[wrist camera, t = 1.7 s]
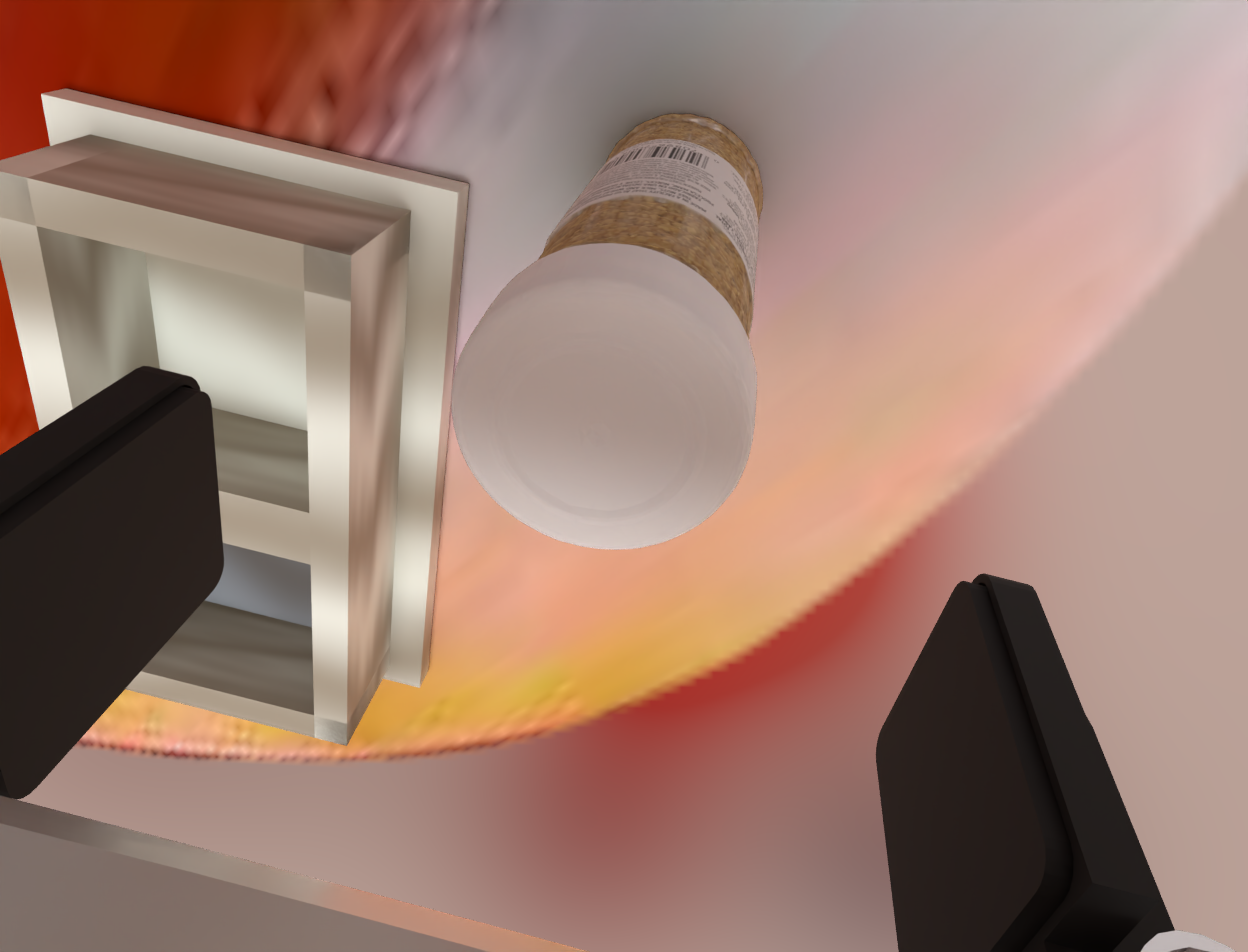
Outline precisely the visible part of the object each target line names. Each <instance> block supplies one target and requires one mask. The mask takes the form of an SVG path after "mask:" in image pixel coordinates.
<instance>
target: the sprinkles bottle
mask: <svg viewBox="0 0 1248 952" xmlns="http://www.w3.org/2000/svg"><path fill="white" fill-rule="evenodd" d="M762 204H763V187H762V183H761V179H760V173H759V170H758V166H757V163H756V162H755V160H754V159H753V157H752V156H751V154H750V152H749V150H748V149H747V147H746V146H745V145H744V143H743V142H742V141H741V140H740V139H739V138H738V137H737V136H736V135H735V134H734V133H733V132H731V131H730V130H728V129H727V128H726V127H724V126H723V125H722V124H720V123H718V122H716V121H714V120H712V119H710V118H706V117H699V116H696V115H693V114H682V115H680V114H667V115H662V116H659V117H657V118H654V119H651V120H648V121H646V122H644V123H642V124H640V125H638V126H637V127H635V128H634V129H633V130H632V131H631V132H630V133H629V134H628V135H627V136H625V137H624V138H623V139H621V140H620V141H619V142H618V143H617V144H616V146H615V147H614V149H613V150H612V152H611V154H610V155H609V157H608V159H607V161H606V163H605V165H604V166H603V167H602V168H601V169H600V170H599V171H598V172H597V174H596V175H595V176H594V178H593V179H592V180H591V181H590V183H589V184H588V186H587V187H586V188H585V189H584V191H583V192H582V193H581V195H580V196H579V197H578V198H577V200H576V201H575V202H574V204H573V205H572V206H571V208H570V209H569V210H568V212H567V213H566V214H565V216H564V217H563V218H562V220H561V221H560V222H559V224H558V225H557V227H556V228H555V229H554V231H553V232H552V234H551V235H550V236H549V238H548V239H547V242H546V246H545V249H544V251H543V254H542V255H541V256H540V257H539V259H538V260H537V261H535V262H534V263H533V264H531V265H530V266H529V267H527V268H526V269H525V270H523V271H522V272H520V273H519V274H518V275H517V276H516V277H515V278H513V279H512V280H511V281H510V282H509V283H508V284H507V286H506V287H505V288H504V289H503V290H502V291H501V292H500V294H499V295H498V296H497V298H496V299H495V300H494V302H493V303H492V304H491V306H490V307H489V308H488V310H487V311H486V313H485V314H484V316H483V317H482V319H481V320H480V322H479V323H478V325H477V326H476V328H475V330H474V331H473V333H472V334H471V336H470V337H469V339H468V341H467V343H466V345H465V347H464V349H463V351H462V353H461V355H460V357H459V360H458V363H457V366H456V369H455V373H454V379H453V386H452V393H451V406H452V417H453V425H454V429H455V433H456V437H457V440H458V444H459V447H460V450H461V452H462V454H463V456H464V458H465V461H466V463H467V465H468V466H469V468H470V470H471V471H472V473H473V475H474V476H475V478H476V479H477V480H478V482H479V483H480V484H481V486H482V487H483V488H484V489H485V491H486V492H487V493H488V494H489V495H490V496H491V497H492V498H493V499H494V500H495V501H496V502H497V503H498V504H499V505H500V506H501V507H502V508H504V509H505V510H506V511H507V512H508V513H510V514H511V515H512V516H514V517H515V518H516V519H518V520H519V521H521V522H522V523H524V524H526V525H527V526H529V527H531V528H533V529H535V530H537V531H539V532H540V533H542V534H544V535H546V536H549V537H551V538H554V539H556V540H559V541H563V542H566V543H570V544H574V545H578V546H582V547H589V548H597V549H613V550H619V549H635V548H642V547H646V546H651V545H656V544H659V543H662V542H665V541H668V540H671V539H673V538H675V537H678V536H680V535H682V534H684V533H686V532H688V531H690V530H691V529H693V528H695V527H696V526H698V525H699V524H701V523H702V522H703V521H705V520H706V519H707V518H709V517H710V516H711V515H712V514H713V513H714V512H715V511H716V510H717V509H718V508H719V507H720V506H721V505H722V504H723V503H724V501H725V500H726V499H727V498H728V497H729V495H730V494H731V493H732V492H733V490H734V489H735V487H736V486H737V484H738V482H739V480H740V478H741V475H742V473H743V471H744V468H745V466H746V463H747V461H748V457H749V453H750V449H751V445H752V441H753V433H754V425H755V412H756V394H757V372H756V366H755V361H754V357H753V353H752V349H751V345H750V342H749V334H750V331H751V326H752V320H753V307H754V289H755V275H756V263H757V250H758V235H759V229H758V223H759V217H760V213H761V210H762Z"/></svg>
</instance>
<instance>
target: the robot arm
mask: <svg viewBox="0 0 1248 952" xmlns="http://www.w3.org/2000/svg"><path fill="white" fill-rule="evenodd" d="M223 568H224V552H223V539H222V527H221V514H220V502H219V489H218V477H217V465H216V452H215V440H214V427H213V415H212V404H211V399H210V397H209V395H208V394H207V393H205V392H203V391H201V390H200V386H199V384H198V383H197V381H196V380H195V379H194V378H192V377H191V376H187V375H183V374H179V373H175V372H171V371H167V370H163V369H159V368H155V367H151V366H141V367H139V368H137V369H135V370H133V371H132V372H130V373H129V374H127V375H125V376H124V377H122V378H121V379H119V380H118V381H116V382H114V383H113V384H111V385H110V386H108V387H107V388H105V389H103V390H102V391H100V392H99V393H97V394H96V395H94V396H92V397H91V398H89V399H88V400H86V401H85V402H83V403H81V404H80V405H78V406H77V407H75V408H74V409H72V410H70V411H69V412H67V413H66V414H64V415H63V416H61V417H59V418H58V419H56V420H55V421H53V422H52V423H50V424H49V425H47V426H45V427H44V428H42V429H41V430H39V431H38V432H36V433H34V434H33V435H31V436H30V437H28V438H27V439H25V440H23V441H22V442H20V443H19V444H17V445H16V446H14V447H12V448H11V449H9V450H8V451H6V452H5V453H3V454H1V455H0V952H588V951H585V950H581V949H577V948H574V947H570V946H566V945H563V944H559V943H555V942H552V941H548V940H544V939H541V938H537V937H533V936H529V935H526V934H522V933H518V932H515V931H511V930H507V929H503V928H500V927H495V926H492V925H488V924H485V923H481V922H477V921H474V920H470V919H466V918H462V917H459V916H455V915H451V914H447V913H444V912H440V911H436V910H432V909H429V908H425V907H421V906H417V905H414V904H410V903H406V902H402V901H399V900H395V899H391V898H387V897H384V896H380V895H376V894H372V893H369V892H365V891H361V890H358V889H354V888H350V887H346V886H343V885H339V884H335V883H331V882H327V881H324V880H320V879H316V878H312V877H308V876H305V875H301V874H297V873H293V872H290V871H286V870H282V869H278V868H275V867H271V866H267V865H263V864H260V863H256V862H252V861H249V860H245V859H241V858H237V857H233V856H230V855H225V854H222V853H218V852H214V851H210V850H207V849H203V848H199V847H195V846H191V845H187V844H184V843H179V842H176V841H172V840H168V839H164V838H161V837H157V836H153V835H149V834H145V833H141V832H138V831H134V830H130V829H126V828H122V827H119V826H115V825H111V824H107V823H103V822H99V821H96V820H92V819H87V818H84V817H80V816H76V815H72V814H69V813H65V812H61V811H57V810H53V809H50V808H46V807H42V806H38V805H34V804H30V803H27V802H22V801H19V800H17V799H21V798H24V797H25V796H27V795H29V794H30V793H31V792H32V791H33V790H34V789H35V788H36V787H37V786H38V785H39V784H40V783H41V782H42V781H43V780H44V779H45V778H46V776H47V775H48V774H49V773H50V772H51V771H52V770H53V768H55V766H56V765H57V764H58V763H59V762H60V761H61V760H62V759H63V757H64V756H65V755H66V754H67V753H68V752H69V751H70V750H71V749H72V747H73V746H74V745H75V744H76V743H77V742H78V741H79V740H80V739H81V737H82V736H83V735H84V734H85V733H86V732H87V731H88V730H89V728H90V727H91V726H92V725H93V724H94V723H95V722H96V721H97V720H98V718H99V717H100V716H101V715H102V714H103V713H104V712H105V711H106V710H107V708H108V707H109V706H110V705H111V704H112V703H113V702H114V701H115V700H116V698H117V697H118V696H119V695H120V694H121V693H122V692H123V691H124V689H125V688H126V687H127V686H128V685H129V684H130V683H131V682H132V681H133V679H134V678H135V677H136V676H137V675H138V674H139V673H140V672H141V671H142V669H143V668H144V667H145V666H146V665H147V664H148V663H149V662H150V661H151V659H152V658H153V657H154V656H155V655H156V654H157V653H158V652H159V650H160V649H161V648H162V647H163V646H164V645H165V644H166V643H167V642H168V640H169V639H170V638H171V637H172V636H173V635H174V634H175V633H176V632H177V630H178V629H179V628H180V627H181V626H182V625H183V624H184V623H185V621H186V620H187V619H188V618H189V617H190V616H191V615H192V614H193V613H194V611H195V610H196V609H197V608H198V607H199V606H200V605H201V604H202V603H203V601H204V600H205V599H206V598H207V597H208V596H209V595H210V594H211V593H212V591H213V590H214V589H215V587H216V586H217V584H218V582H219V581H220V578H221V576H222V573H223ZM876 763H877V771H878V780H879V789H880V797H881V806H882V814H883V822H884V831H885V839H886V848H887V856H888V865H889V873H890V881H891V890H892V898H893V906H894V916H895V924H896V932H897V941H898V949H899V952H1236V951H1234V950H1233V949H1231V948H1230V947H1228V946H1226V945H1224V944H1222V943H1219V942H1217V941H1215V940H1213V939H1210V938H1208V937H1206V936H1204V935H1201V934H1196V933H1190V932H1185V931H1180V930H1175V929H1174V927H1173V924H1172V922H1171V920H1170V917H1169V915H1168V912H1167V910H1166V907H1165V905H1164V902H1163V900H1162V898H1161V895H1160V892H1159V890H1158V887H1157V885H1156V882H1155V880H1154V877H1153V875H1152V873H1151V870H1150V868H1149V865H1148V863H1147V860H1146V858H1145V855H1144V853H1143V850H1142V848H1141V845H1140V843H1139V840H1138V838H1137V835H1136V833H1135V830H1134V828H1133V826H1132V823H1131V821H1130V818H1129V816H1128V813H1127V811H1126V808H1125V806H1124V803H1123V801H1122V798H1121V796H1120V793H1119V791H1118V789H1117V786H1116V784H1115V781H1114V779H1113V776H1112V774H1111V771H1110V769H1109V767H1108V764H1107V761H1106V759H1105V757H1104V754H1103V751H1102V749H1101V747H1100V744H1099V742H1098V739H1097V737H1096V734H1095V732H1094V729H1093V727H1092V725H1091V724H1090V722H1089V720H1088V718H1087V717H1086V715H1085V713H1084V710H1083V708H1082V706H1081V703H1080V700H1079V698H1078V695H1077V693H1076V691H1075V688H1074V685H1073V683H1072V680H1071V678H1070V675H1069V673H1068V670H1067V668H1066V665H1065V663H1064V660H1063V658H1062V655H1061V653H1060V650H1059V648H1058V645H1057V643H1056V641H1055V638H1054V636H1053V633H1052V631H1051V628H1050V626H1049V623H1048V621H1047V618H1046V616H1045V613H1044V611H1043V608H1042V606H1041V603H1040V601H1039V598H1038V596H1037V593H1036V591H1035V590H1034V588H1033V587H1032V586H1030V585H1028V584H1024V583H1020V582H1016V581H1012V580H1007V579H1004V578H1000V577H996V576H992V575H988V574H980V575H978V576H977V577H976V578H975V579H974V580H973V582H972V583H970V582H966V581H962V582H960V583H959V584H957V586H956V587H955V589H954V591H953V592H952V594H951V596H950V598H949V600H948V602H947V604H946V606H945V608H944V610H943V611H942V613H941V615H940V617H939V619H938V621H937V623H936V625H935V627H934V629H933V631H932V633H931V634H930V637H929V638H928V640H927V642H926V644H925V646H924V648H923V650H922V652H921V654H920V656H919V658H918V660H917V661H916V663H915V665H914V667H913V669H912V671H911V673H910V675H909V677H908V679H907V681H906V683H905V684H904V686H903V688H902V690H901V692H900V694H899V696H898V698H897V700H896V702H895V704H894V706H893V708H892V710H891V711H890V713H889V715H888V717H887V719H886V721H885V723H884V725H883V727H882V729H881V731H880V734H879V737H878V741H877V747H876ZM15 799H16V800H15Z"/></svg>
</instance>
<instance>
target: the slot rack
mask: <svg viewBox="0 0 1248 952" xmlns="http://www.w3.org/2000/svg"><path fill="white" fill-rule="evenodd" d="M41 97H42V102H43V108H44V113H45V119H46V124H47V130H48V135H49V141H50V146H49V147H45V148H42V149H38V150H35V151H31V152H28V153H25V154H21V155H18V156H14V157H11V158H7V159H4V160H1V161H0V258H1V262H2V267H3V271H4V276H5V280H6V284H7V289H8V293H9V298H10V302H11V306H12V311H13V315H14V320H15V324H16V328H17V333H18V337H19V342H20V346H21V350H22V355H23V359H24V364H25V368H26V372H27V377H28V381H29V386H30V390H31V394H32V399H33V403H34V408H35V412H36V416H37V421H38V425H39V430H41V429H42V428H44V427H45V426H47V425H49V424H50V423H52V422H53V421H55V420H56V419H58V418H59V417H61V416H63V415H64V414H66V413H67V412H69V411H70V410H72V409H74V408H75V407H77V406H78V405H80V404H81V403H83V402H85V401H86V400H88V399H89V398H91V397H92V396H94V395H96V394H97V393H99V392H100V391H102V390H103V389H105V388H107V387H108V386H110V385H111V384H113V383H114V382H116V381H118V380H119V379H121V378H122V377H124V376H125V375H127V374H129V373H130V372H132V371H133V370H135V369H137V368H139V367H141V366H151V367H155V368H159V369H163V370H167V371H171V372H175V373H179V374H183V375H187V376H191V377H192V378H194V379H195V380H196V381H197V383H198V384H199V386H200V390H201V391H203V392H205V393H207V394H208V395H209V397H210V399H211V404H212V415H213V427H214V440H215V452H216V465H217V477H218V489H219V502H220V514H221V527H222V539H223V552H224V568H223V573H222V576H221V578H220V581H219V582H218V584H217V586H216V587H215V589H214V590H213V591H212V593H211V594H210V595H209V596H208V597H207V598H206V599H205V600H204V601H203V603H202V604H201V605H200V606H199V607H198V608H197V609H196V610H195V611H194V613H193V614H192V615H191V616H190V617H189V618H188V619H187V620H186V621H185V623H184V624H183V625H182V626H181V627H180V628H179V629H178V630H177V632H176V633H175V634H174V635H173V636H172V637H171V638H170V639H169V640H168V642H167V643H166V644H165V645H164V646H163V647H162V648H161V649H160V650H159V652H158V653H157V654H156V655H155V656H154V657H153V658H152V659H151V661H150V662H149V663H148V664H147V665H146V666H145V667H144V668H143V669H142V671H141V672H140V673H139V674H138V675H137V676H136V677H135V678H134V679H133V681H132V682H131V683H130V684H129V685H128V686H127V687H126V688H125V689H127V690H131V691H135V692H138V693H142V694H146V695H150V696H154V697H158V698H162V699H166V700H170V701H174V702H178V703H181V704H185V705H189V706H193V707H197V708H201V709H205V710H209V711H213V712H217V713H221V714H224V715H228V716H232V717H236V718H240V719H244V720H248V721H252V722H256V723H260V724H264V725H267V726H271V727H275V728H279V729H283V730H287V731H291V732H295V733H299V734H303V735H307V736H310V737H314V738H318V739H322V740H326V741H330V742H334V743H338V744H342V745H346V746H347V744H348V743H349V741H350V739H351V737H352V735H353V733H354V731H355V729H356V728H357V726H358V724H359V722H360V720H361V718H362V716H363V714H364V713H365V711H366V709H367V707H368V705H369V703H370V701H371V699H372V698H373V696H374V694H375V692H376V690H377V688H378V686H379V685H380V683H381V681H382V679H387V680H391V681H395V682H399V683H403V684H407V685H411V686H415V687H419V688H420V686H421V684H422V682H423V680H424V678H425V676H426V674H427V672H428V668H429V656H430V644H431V632H432V620H433V608H434V596H435V585H436V573H437V561H438V549H439V537H440V525H441V513H442V501H443V490H444V478H445V466H446V454H447V442H448V430H449V418H450V406H451V393H452V383H453V371H454V359H455V347H456V335H457V323H458V311H459V300H460V288H461V276H462V264H463V252H464V240H465V228H466V216H467V205H468V193H469V184H468V183H464V182H460V181H456V180H451V179H447V178H443V177H439V176H434V175H430V174H426V173H422V172H418V171H413V170H409V169H405V168H401V167H396V166H392V165H388V164H384V163H379V162H375V161H371V160H367V159H362V158H358V157H354V156H350V155H346V154H341V153H337V152H333V151H329V150H324V149H320V148H316V147H312V146H307V145H303V144H299V143H295V142H291V141H286V140H282V139H278V138H274V137H269V136H265V135H261V134H257V133H252V132H248V131H244V130H240V129H236V128H231V127H227V126H223V125H219V124H214V123H210V122H206V121H202V120H197V119H193V118H189V117H185V116H181V115H176V114H172V113H168V112H164V111H159V110H155V109H151V108H147V107H142V106H138V105H134V104H130V103H126V102H121V101H117V100H113V99H109V98H104V97H100V96H96V95H92V94H87V93H83V92H79V91H75V90H71V89H61V90H57V91H52V92H48V93H43V94H41Z"/></svg>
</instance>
